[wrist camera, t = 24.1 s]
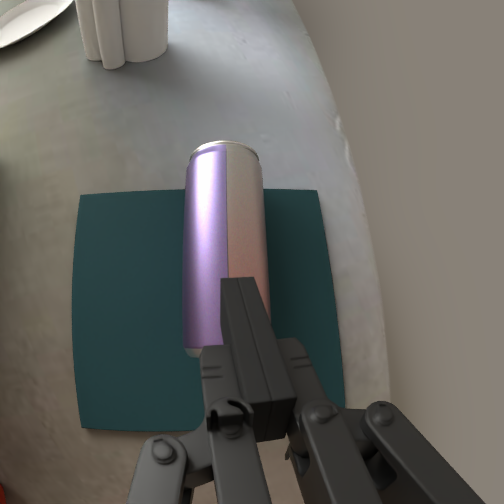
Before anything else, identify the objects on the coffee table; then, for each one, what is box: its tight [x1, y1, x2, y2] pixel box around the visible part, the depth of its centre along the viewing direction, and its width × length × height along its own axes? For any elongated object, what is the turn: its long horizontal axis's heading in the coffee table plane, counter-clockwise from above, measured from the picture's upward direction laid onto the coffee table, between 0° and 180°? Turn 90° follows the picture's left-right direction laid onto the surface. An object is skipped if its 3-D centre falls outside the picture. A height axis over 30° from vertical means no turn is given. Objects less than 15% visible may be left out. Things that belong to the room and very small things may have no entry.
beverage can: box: [182, 140, 271, 358], centre depth 22 cm, size 6×6×15 cm
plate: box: [0, 0, 73, 48], centre depth 30 cm, size 21×21×2 cm
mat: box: [72, 189, 345, 431], centre depth 24 cm, size 22×20×1 cm
